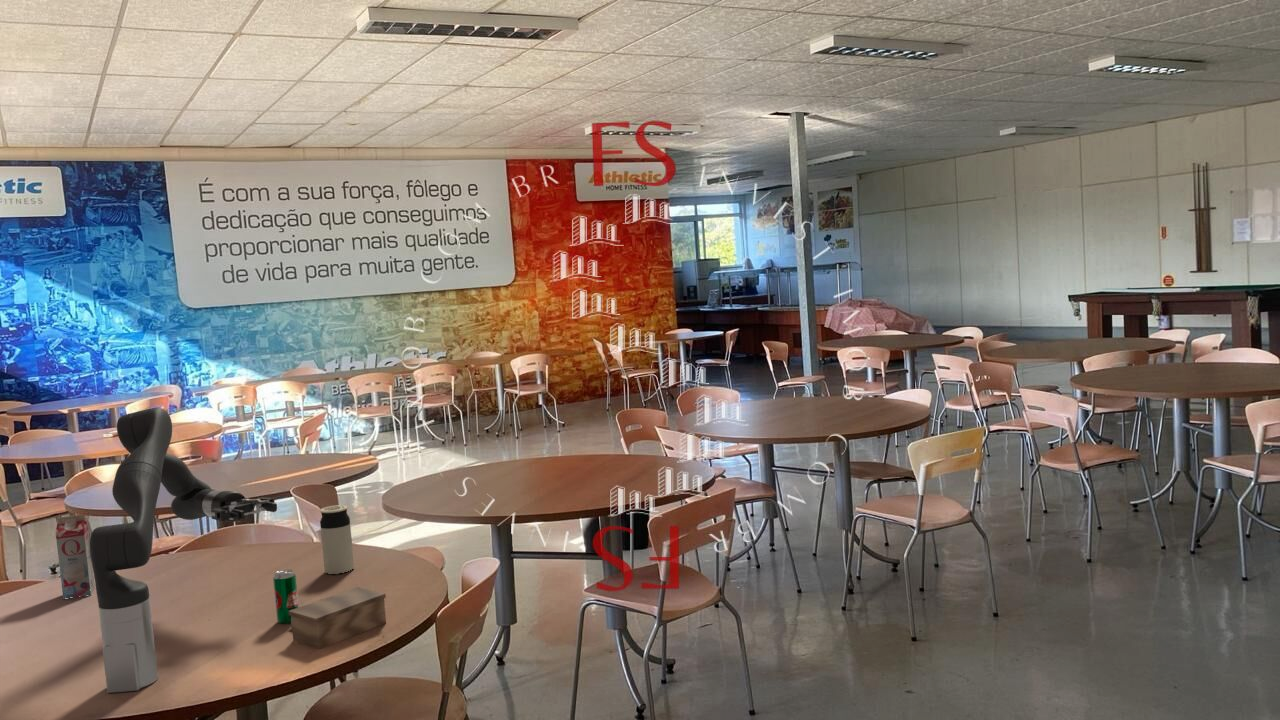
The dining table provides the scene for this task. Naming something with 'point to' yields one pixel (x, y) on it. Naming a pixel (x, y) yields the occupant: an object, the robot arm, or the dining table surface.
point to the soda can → (285, 594)
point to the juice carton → (74, 556)
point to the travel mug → (336, 539)
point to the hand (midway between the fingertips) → (259, 511)
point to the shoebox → (338, 617)
